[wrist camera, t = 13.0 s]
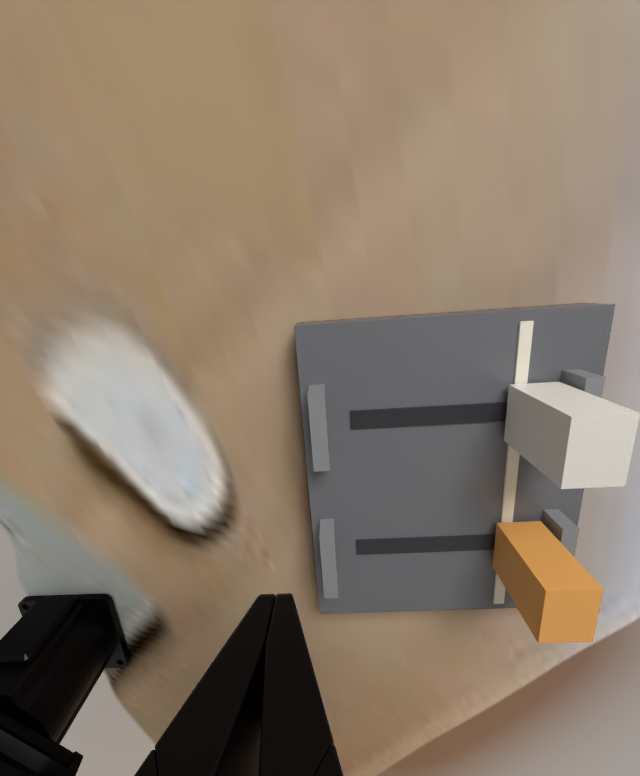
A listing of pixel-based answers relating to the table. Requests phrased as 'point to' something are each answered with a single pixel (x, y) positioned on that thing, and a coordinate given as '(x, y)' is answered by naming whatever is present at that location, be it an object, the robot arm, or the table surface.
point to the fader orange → (546, 583)
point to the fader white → (571, 434)
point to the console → (432, 448)
